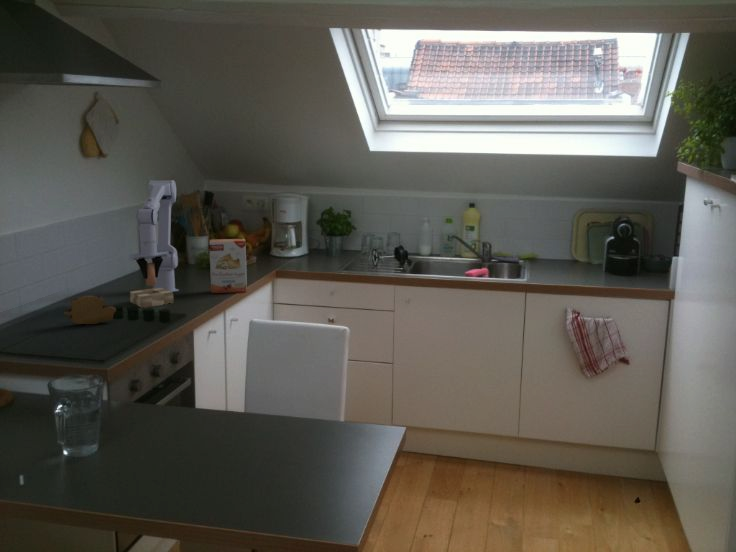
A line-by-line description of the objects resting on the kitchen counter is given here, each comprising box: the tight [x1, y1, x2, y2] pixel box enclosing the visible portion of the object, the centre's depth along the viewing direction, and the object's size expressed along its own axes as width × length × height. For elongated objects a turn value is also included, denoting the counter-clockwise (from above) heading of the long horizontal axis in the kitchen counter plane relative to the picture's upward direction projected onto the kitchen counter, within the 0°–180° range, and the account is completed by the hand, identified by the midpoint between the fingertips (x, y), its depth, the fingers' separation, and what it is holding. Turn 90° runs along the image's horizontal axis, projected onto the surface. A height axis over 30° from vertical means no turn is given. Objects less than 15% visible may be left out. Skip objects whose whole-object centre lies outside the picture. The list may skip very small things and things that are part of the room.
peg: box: [145, 262, 156, 287], centre depth 276 cm, size 3×3×8 cm
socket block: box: [129, 287, 175, 309], centre depth 278 cm, size 12×12×4 cm
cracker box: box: [208, 238, 248, 294], centre depth 295 cm, size 14×6×21 cm, turn 99°
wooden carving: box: [63, 294, 117, 325], centre depth 247 cm, size 16×5×10 cm, turn 114°
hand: (150, 277), depth 277 cm, fingers closed on peg, 3 cm apart
